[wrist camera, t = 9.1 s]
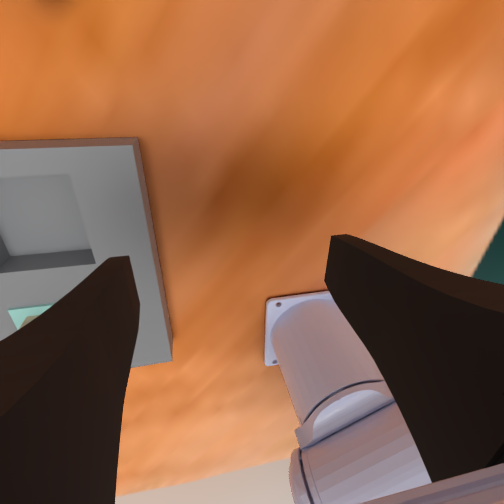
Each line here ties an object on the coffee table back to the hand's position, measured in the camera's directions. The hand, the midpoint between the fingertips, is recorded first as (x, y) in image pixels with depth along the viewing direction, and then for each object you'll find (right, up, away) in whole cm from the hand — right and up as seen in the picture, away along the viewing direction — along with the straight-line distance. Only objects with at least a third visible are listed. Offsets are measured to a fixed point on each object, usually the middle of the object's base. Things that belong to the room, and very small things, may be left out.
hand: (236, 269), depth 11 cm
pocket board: (-12, 0, +9) cm, 15 cm away
